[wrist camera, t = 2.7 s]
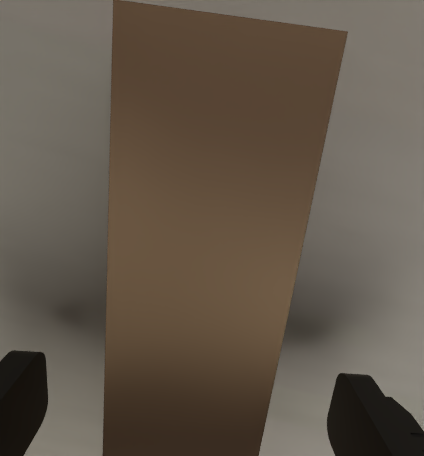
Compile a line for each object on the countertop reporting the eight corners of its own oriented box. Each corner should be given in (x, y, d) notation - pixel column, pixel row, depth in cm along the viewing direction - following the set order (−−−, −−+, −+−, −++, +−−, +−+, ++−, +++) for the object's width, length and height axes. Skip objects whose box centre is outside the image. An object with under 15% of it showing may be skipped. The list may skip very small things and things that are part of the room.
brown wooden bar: (161, 67, 9) (113, -1, 5) (278, 82, 10) (347, 31, 5) (136, 465, 14) (98, 638, 9) (215, 471, 14) (218, 645, 9)
